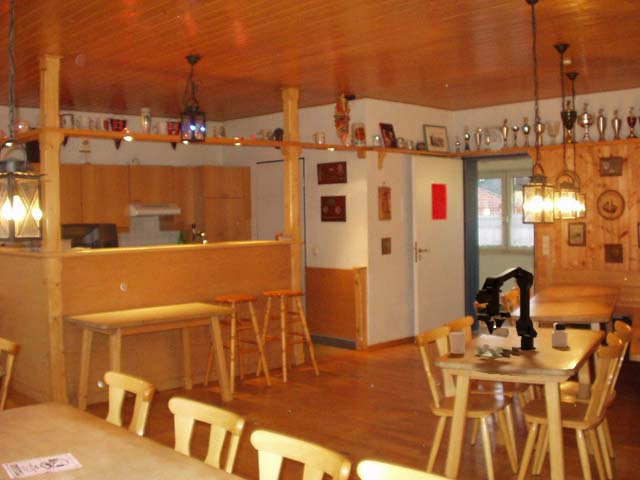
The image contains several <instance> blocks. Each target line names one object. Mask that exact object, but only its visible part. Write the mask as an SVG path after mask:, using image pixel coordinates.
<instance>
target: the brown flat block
mask: <svg viewBox="0 0 640 480" xmlns="http://www.w3.org/2000/svg"><path fill="white" fill-rule="evenodd" d="M502 348H503V347H502ZM510 353H511V354H510ZM515 354H516V356H518V355H520V348H519V346H511V349H510V348H503V350H502V351H501V353H500V355H503V356H502V357H507V356H509V357H511V355H515Z"/></svg>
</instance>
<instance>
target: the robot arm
mask: <svg viewBox="0 0 640 480" xmlns="http://www.w3.org/2000/svg"><path fill="white" fill-rule="evenodd" d="M512 278H514V279H515V280H516V285H517V286H518V288H519V318H518V320H515V330H516V333H517V334H516V335H517V337H520V347H519V346H518V347H519V350H525V351H529V350H530V351H531V350H535V349H537V347H535V340H534V339H536V338H538V332H537V331H536V329H535V327H534V323H533V321H532V318H531V315H530V314H531V289H532V287H533V285H534V274H533V273H532V272H530V271H528V270H526V269H524V268H522V267H521V266H510V268H508V269H506V270H504V271H502V272H501V273H499V274H495V275H489V276H487V277H486V278H485V281H484V283H483V285H482V287H481V289H478V292H477V293H476V294H475V301H476V303H478V304H479V305H484V304H485V307H482V306H478V307H476V314H477V315H476V321H480V322H481V321H482V322H483V323H484V324H485V325H487V328H488V331H489V333H490V334H492V332H493V326H494V327H501V328H503V324H504V323H505V321H506V320H507V319H509V318H511V317H512V316H511V312H510V311H505V310H501V309H500V307H502V304H501V302H500V294H501V293H503V291H502V289H500V288H502V287H503V286H504V283H506V282H508V281H509V280H510V279H512Z"/></svg>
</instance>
